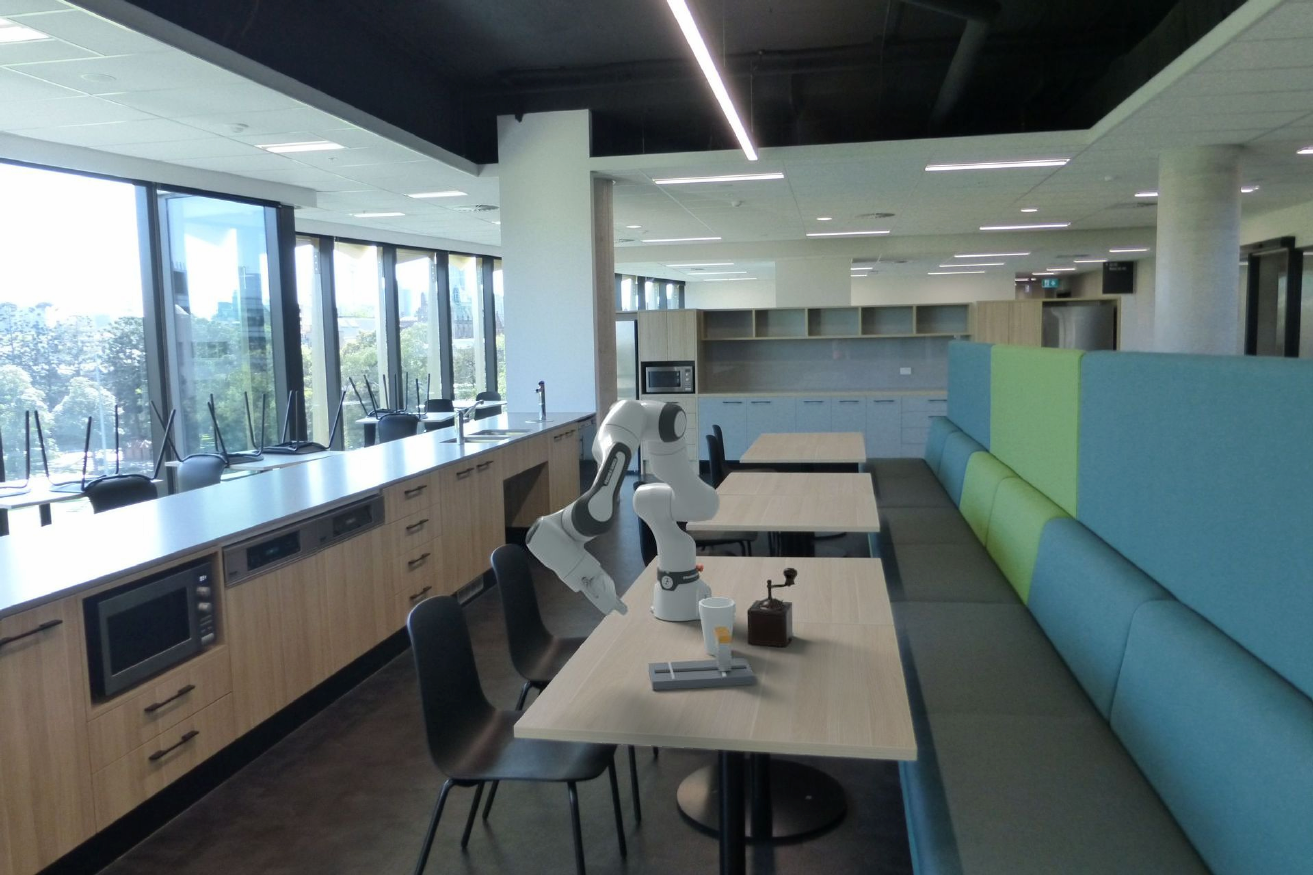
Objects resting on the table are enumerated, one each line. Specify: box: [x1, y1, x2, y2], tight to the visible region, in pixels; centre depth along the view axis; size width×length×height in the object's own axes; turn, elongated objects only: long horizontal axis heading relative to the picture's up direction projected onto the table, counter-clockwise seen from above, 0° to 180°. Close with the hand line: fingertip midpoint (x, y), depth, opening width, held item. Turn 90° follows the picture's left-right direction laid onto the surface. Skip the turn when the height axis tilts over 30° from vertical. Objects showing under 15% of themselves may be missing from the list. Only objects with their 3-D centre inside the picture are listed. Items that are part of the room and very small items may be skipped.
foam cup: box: [699, 596, 737, 656], centre depth 233 cm, size 10×9×13 cm
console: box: [648, 657, 756, 691], centre depth 216 cm, size 24×12×2 cm, turn 95°
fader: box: [714, 627, 732, 671], centre depth 216 cm, size 3×7×9 cm, turn 5°
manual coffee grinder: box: [746, 567, 798, 649], centre depth 243 cm, size 16×11×18 cm
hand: (625, 611), depth 212 cm, fingers closed
